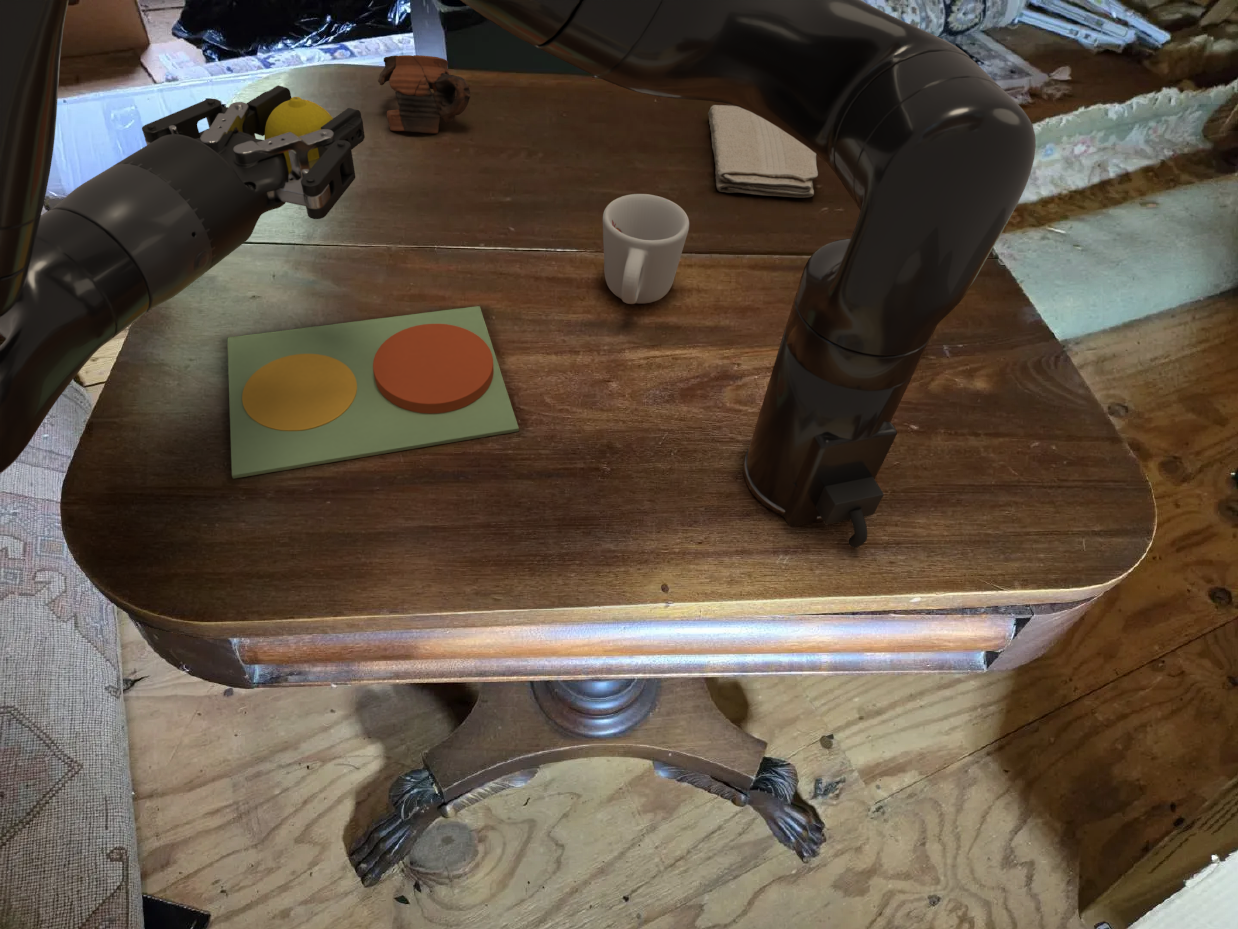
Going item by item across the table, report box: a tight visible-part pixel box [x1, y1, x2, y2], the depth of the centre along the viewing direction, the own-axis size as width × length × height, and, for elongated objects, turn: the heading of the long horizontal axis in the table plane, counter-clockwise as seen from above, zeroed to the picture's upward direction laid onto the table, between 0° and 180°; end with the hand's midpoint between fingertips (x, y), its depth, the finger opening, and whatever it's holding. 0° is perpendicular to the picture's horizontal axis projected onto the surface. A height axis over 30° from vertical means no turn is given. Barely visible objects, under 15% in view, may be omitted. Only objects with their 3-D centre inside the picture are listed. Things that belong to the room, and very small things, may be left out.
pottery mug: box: [377, 54, 471, 134], centre depth 100 cm, size 12×10×8 cm
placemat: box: [226, 305, 520, 480], centre depth 71 cm, size 16×22×2 cm
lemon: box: [263, 96, 334, 174], centre depth 62 cm, size 6×6×8 cm
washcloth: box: [707, 104, 819, 199], centre depth 101 cm, size 12×18×3 cm, turn 0°
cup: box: [602, 193, 690, 305], centre depth 80 cm, size 11×8×8 cm
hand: (321, 110), depth 62 cm, fingers closed on lemon, 5 cm apart
